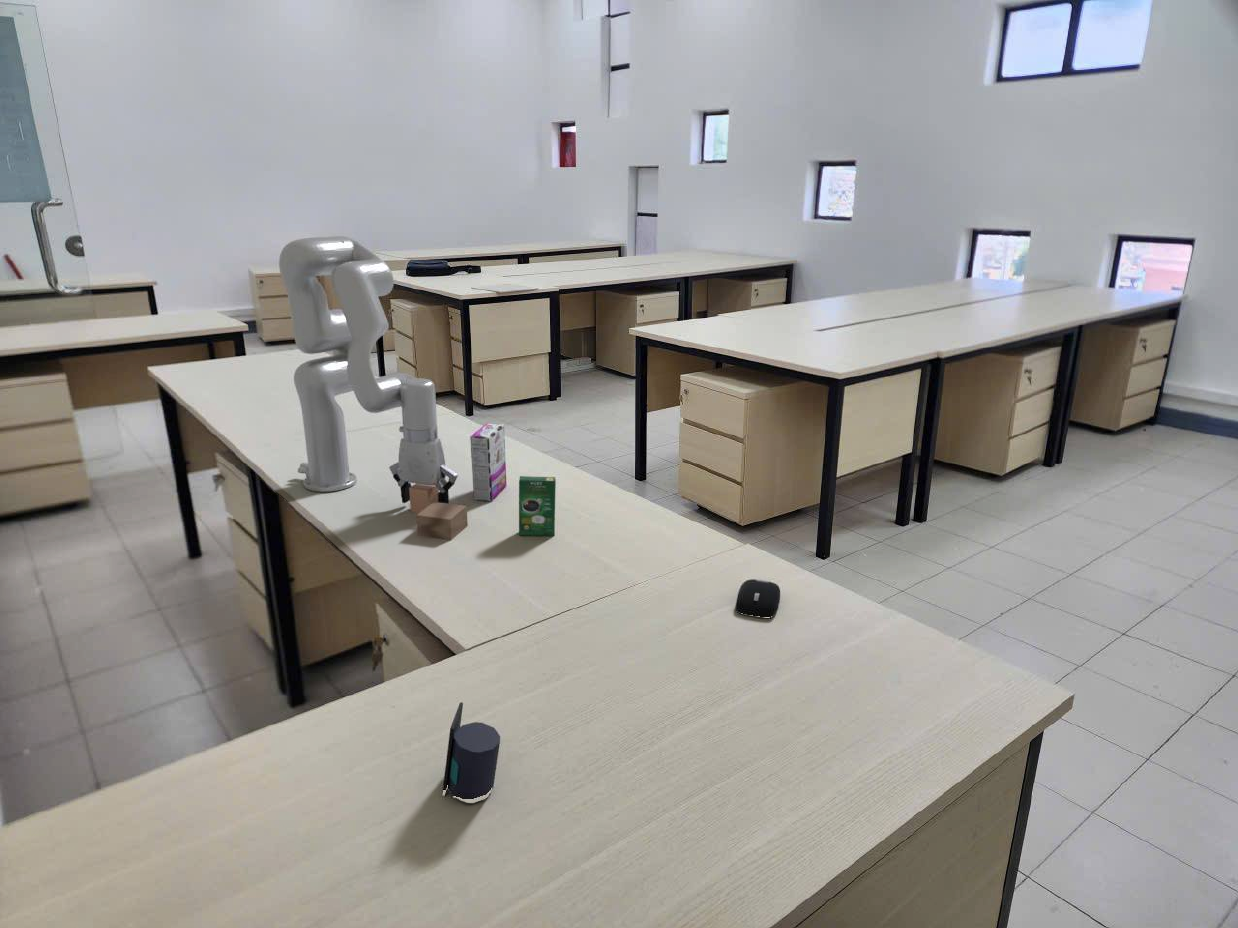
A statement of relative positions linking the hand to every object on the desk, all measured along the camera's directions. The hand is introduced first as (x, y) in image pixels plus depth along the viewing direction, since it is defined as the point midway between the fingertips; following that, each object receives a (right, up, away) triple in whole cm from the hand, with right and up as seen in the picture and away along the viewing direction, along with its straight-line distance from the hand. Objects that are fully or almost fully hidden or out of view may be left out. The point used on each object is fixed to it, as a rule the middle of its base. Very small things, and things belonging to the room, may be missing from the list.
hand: (425, 503), depth 191 cm
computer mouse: (+71, -17, -38) cm, 83 cm away
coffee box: (+27, -6, -11) cm, 30 cm away
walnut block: (+6, -6, -10) cm, 13 cm away
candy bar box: (+13, +2, +11) cm, 18 cm away
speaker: (+26, -32, -86) cm, 95 cm away
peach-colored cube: (0, -1, +1) cm, 2 cm away
